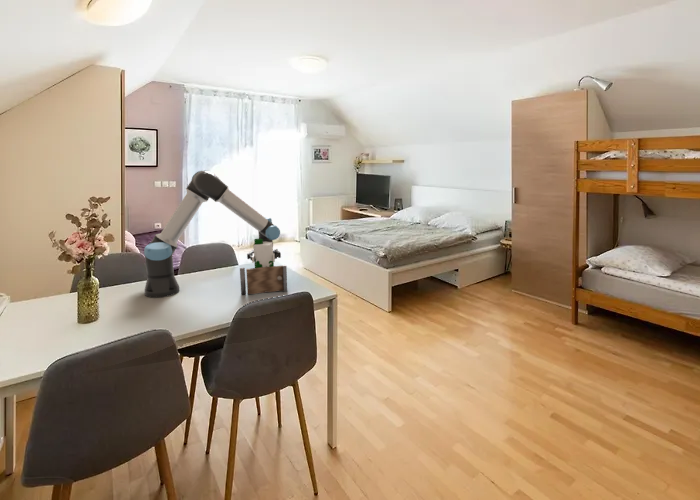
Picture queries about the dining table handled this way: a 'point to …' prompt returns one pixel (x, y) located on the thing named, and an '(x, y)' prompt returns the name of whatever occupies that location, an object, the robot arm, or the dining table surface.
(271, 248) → the soya milk
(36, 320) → the dining table surface
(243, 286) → the door frame
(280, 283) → the door
